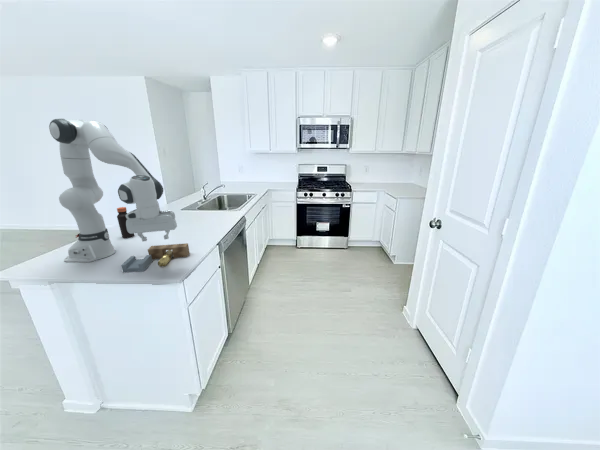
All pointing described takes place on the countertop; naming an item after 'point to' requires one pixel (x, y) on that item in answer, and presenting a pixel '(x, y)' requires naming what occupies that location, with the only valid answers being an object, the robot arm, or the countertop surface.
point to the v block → (136, 264)
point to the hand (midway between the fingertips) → (155, 239)
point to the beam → (177, 249)
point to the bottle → (123, 222)
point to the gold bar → (165, 258)
